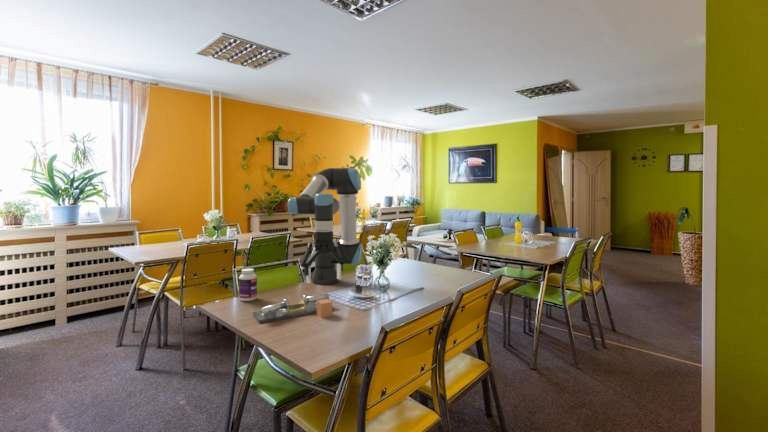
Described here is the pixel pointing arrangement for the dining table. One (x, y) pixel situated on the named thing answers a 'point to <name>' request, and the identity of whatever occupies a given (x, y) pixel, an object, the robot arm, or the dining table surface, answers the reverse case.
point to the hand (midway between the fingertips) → (324, 281)
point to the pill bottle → (247, 285)
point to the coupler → (324, 308)
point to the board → (290, 311)
